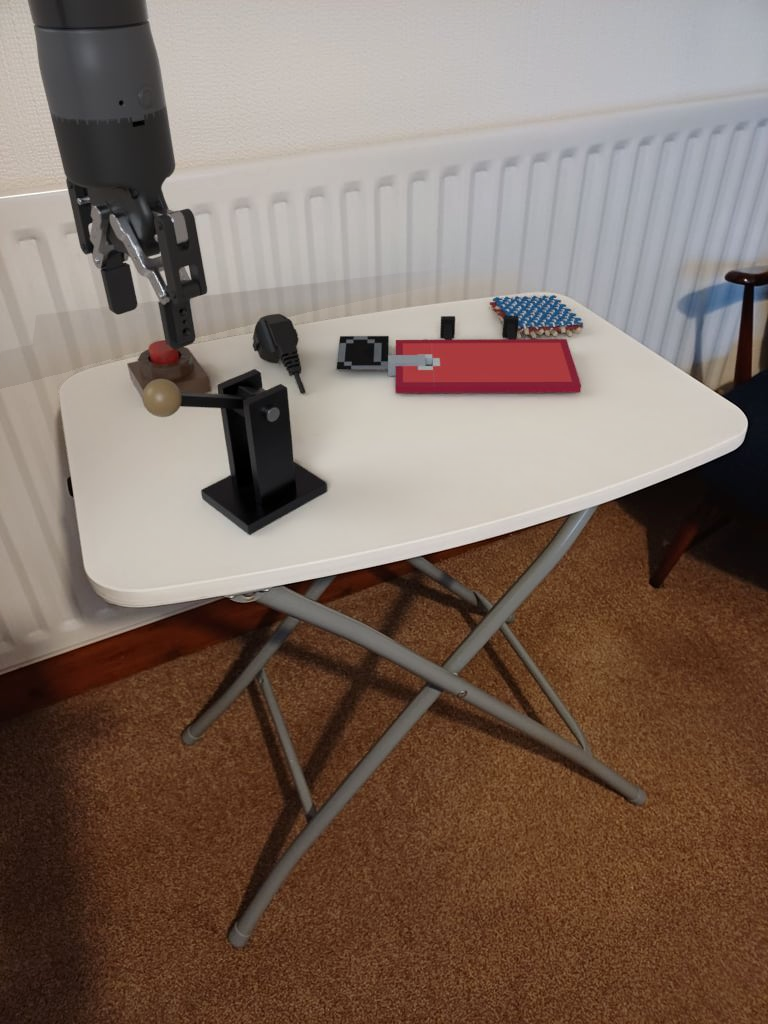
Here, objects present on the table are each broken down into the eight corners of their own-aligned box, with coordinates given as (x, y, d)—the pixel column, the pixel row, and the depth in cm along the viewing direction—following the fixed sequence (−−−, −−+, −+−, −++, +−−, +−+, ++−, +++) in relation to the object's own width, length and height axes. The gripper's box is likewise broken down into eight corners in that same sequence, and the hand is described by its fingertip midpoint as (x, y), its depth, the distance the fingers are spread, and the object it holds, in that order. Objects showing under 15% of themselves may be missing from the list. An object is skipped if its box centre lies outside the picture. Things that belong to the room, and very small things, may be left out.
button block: (147, 407, 94) (140, 378, 92) (130, 378, 100) (123, 350, 97) (211, 391, 97) (206, 362, 95) (191, 364, 103) (186, 336, 100)
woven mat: (485, 308, 114) (487, 295, 113) (551, 305, 117) (554, 292, 116) (513, 339, 106) (516, 325, 105) (583, 336, 109) (587, 322, 108)
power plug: (282, 394, 95) (250, 309, 97) (274, 420, 102) (244, 340, 104) (325, 383, 97) (292, 300, 99) (314, 410, 104) (284, 331, 106)
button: (155, 368, 94) (152, 355, 93) (147, 356, 97) (145, 343, 96) (182, 361, 96) (180, 348, 94) (174, 350, 98) (172, 337, 97)
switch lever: (151, 422, 65) (159, 385, 64) (131, 408, 66) (139, 372, 65) (271, 425, 74) (280, 393, 73) (251, 412, 76) (259, 381, 75)
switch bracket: (249, 535, 76) (233, 422, 68) (202, 499, 80) (181, 389, 72) (327, 491, 81) (321, 382, 73) (279, 459, 86) (268, 353, 78)
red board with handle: (341, 335, 107) (334, 396, 96) (340, 316, 106) (333, 376, 94) (560, 334, 107) (579, 395, 96) (563, 315, 105) (583, 375, 94)
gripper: (6, 94, 54) (65, 314, 64) (110, 129, 46) (159, 374, 56) (105, 79, 58) (146, 288, 68) (216, 110, 50) (244, 341, 60)
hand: (152, 327), depth 62 cm, fingers open, 8 cm apart
